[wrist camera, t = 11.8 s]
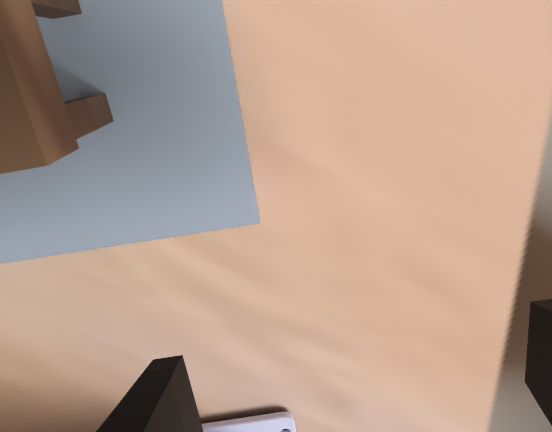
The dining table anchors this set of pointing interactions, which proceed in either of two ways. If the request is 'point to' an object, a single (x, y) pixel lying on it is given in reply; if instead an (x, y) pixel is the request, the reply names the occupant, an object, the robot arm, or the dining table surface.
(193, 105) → the felt mat
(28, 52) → the walnut stool
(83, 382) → the dining table surface
